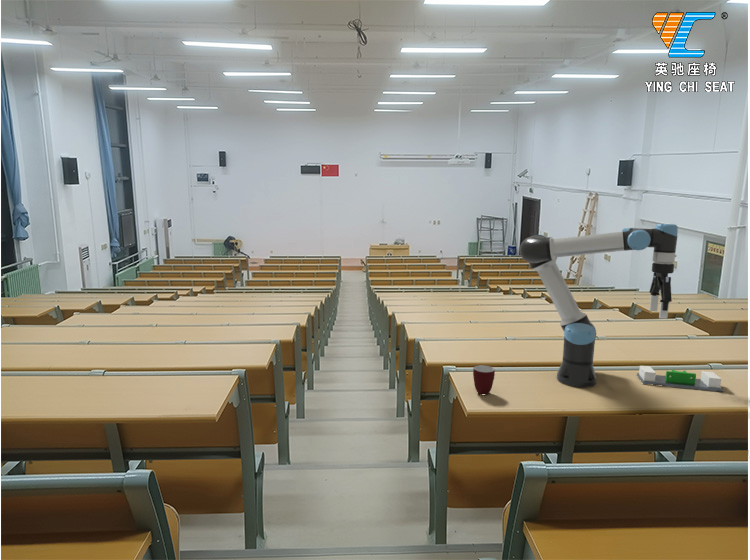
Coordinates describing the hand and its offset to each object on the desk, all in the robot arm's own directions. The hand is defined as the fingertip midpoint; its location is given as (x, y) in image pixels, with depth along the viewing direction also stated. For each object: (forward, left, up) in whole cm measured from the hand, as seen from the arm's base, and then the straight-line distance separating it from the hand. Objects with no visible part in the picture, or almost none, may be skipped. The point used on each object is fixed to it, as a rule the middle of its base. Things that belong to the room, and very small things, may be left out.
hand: (658, 314), depth 191 cm
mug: (-67, -32, -29) cm, 80 cm away
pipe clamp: (+10, 0, -28) cm, 30 cm away
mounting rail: (+10, +1, -29) cm, 30 cm away
